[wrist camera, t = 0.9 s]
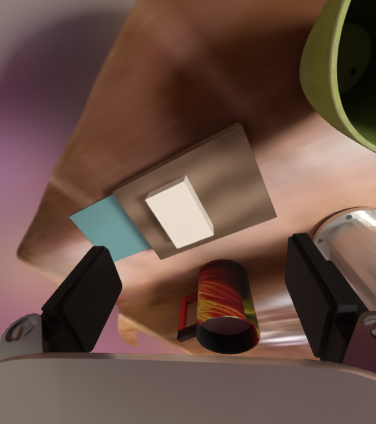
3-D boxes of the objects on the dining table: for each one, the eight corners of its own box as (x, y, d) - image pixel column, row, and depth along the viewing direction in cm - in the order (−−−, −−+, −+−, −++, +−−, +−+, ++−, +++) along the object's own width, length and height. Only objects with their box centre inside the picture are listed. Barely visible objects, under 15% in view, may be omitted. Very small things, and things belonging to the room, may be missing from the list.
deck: (270, 204, 34) (277, 217, 31) (164, 245, 40) (160, 259, 36) (237, 121, 29) (242, 125, 25) (121, 182, 35) (111, 192, 31)
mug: (181, 294, 46) (173, 353, 36) (214, 251, 40) (216, 306, 29) (219, 310, 48) (223, 371, 37) (257, 271, 41) (274, 331, 31)
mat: (159, 242, 40) (159, 243, 39) (110, 262, 43) (109, 263, 43) (122, 188, 35) (121, 189, 35) (70, 215, 38) (69, 216, 38)
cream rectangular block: (213, 225, 32) (213, 235, 30) (179, 239, 34) (177, 248, 32) (185, 174, 29) (184, 181, 27) (149, 192, 31) (144, 199, 28)
